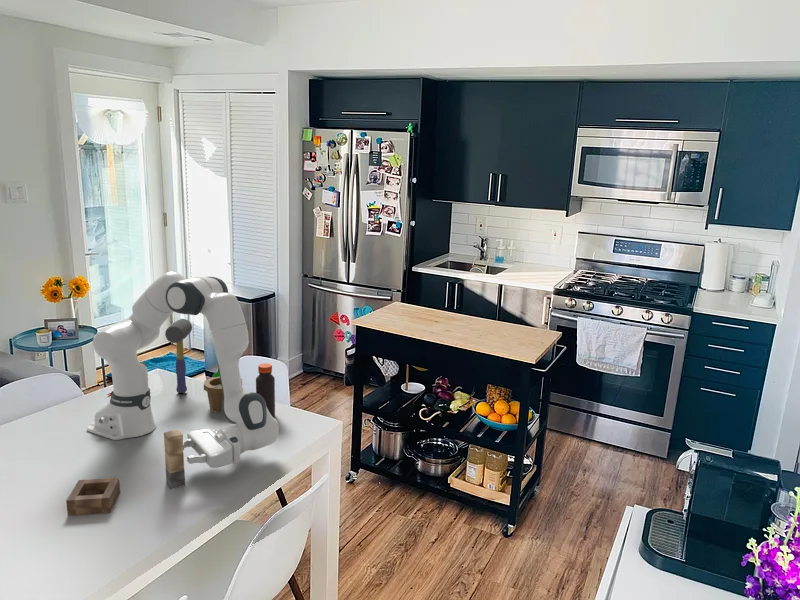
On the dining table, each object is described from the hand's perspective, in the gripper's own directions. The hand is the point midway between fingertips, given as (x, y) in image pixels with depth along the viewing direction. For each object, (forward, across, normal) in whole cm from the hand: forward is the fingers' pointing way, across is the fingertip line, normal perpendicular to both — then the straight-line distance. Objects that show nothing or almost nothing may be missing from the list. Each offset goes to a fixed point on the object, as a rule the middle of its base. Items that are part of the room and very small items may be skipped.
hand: (182, 453), depth 176 cm
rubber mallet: (-22, -68, +9) cm, 72 cm away
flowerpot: (-31, -46, +9) cm, 56 cm away
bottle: (-40, -29, +9) cm, 51 cm away
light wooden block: (+2, 0, +9) cm, 9 cm away
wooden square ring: (+24, -2, +9) cm, 25 cm away
